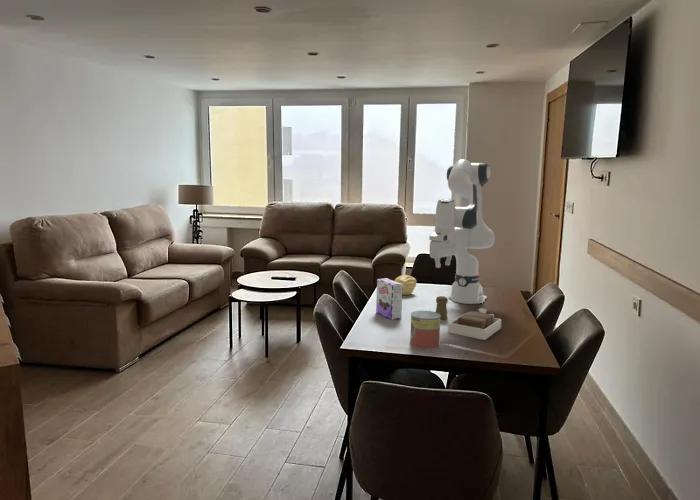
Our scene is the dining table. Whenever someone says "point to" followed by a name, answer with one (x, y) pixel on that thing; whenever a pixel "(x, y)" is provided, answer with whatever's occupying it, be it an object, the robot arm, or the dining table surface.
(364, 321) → the dining table surface
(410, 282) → the beige rounded lump
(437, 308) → the olive waisted cylinder
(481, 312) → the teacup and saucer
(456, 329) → the tote
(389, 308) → the candy box
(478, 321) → the walnut block
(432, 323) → the canned food
